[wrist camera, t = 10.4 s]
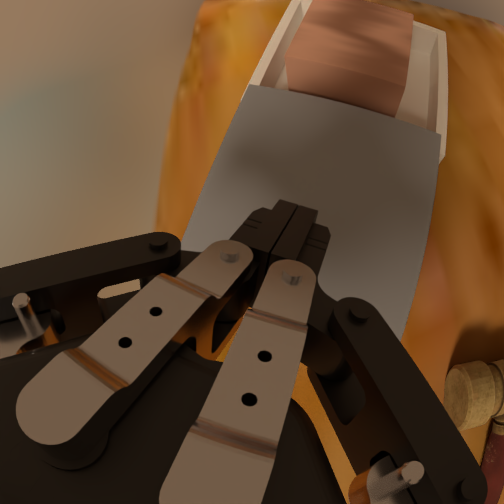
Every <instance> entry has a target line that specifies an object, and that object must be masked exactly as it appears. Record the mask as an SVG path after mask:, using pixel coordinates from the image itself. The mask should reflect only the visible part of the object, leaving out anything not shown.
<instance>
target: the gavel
mask: <svg viewBox="0 0 504 504" xmlns="http://www.w3.org/2000/svg"><path fill="white" fill-rule="evenodd" d="M444 408H445V410H446V411H447V413H448V415H449V416H450V418H451V419H452V421H453V423H454V424H455V426H456V427H457V429H458V431H462V430H466V429H470V428H474V427H477V426H481V425H484V424H485V423H486V422H487V421H488V420H489V418H493V417H494V421H493V427H492V431H491V434H490V436H489V439H488V442H487V444H486V449H485V453H484V458H483V462H482V466H481V470H482V472H483V473H484V475H485V477H486V480H487V485H488V492H487V498H486V501H485V503H484V504H497V503H498V501H499V498H500V495H501V492H502V489H503V486H504V359H502V360H498V361H494V362H490V363H487V364H485V363H484V362H483V361H479V360H478V361H473V362H468V363H463V364H458V365H454V366H453V367H452V368H451V369H450V371H449V373H448V375H447V378H446V381H445V389H444Z"/></svg>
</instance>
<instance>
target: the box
mask: <svg viewBox="0 0 504 504" xmlns="http://www.w3.org/2000/svg"><path fill="white" fill-rule="evenodd" d="M312 1H313V0H292V1H291V3H290V4H289V6H288V8H287V10H286V12H285V14H284V15H283V17H282V19H281V21H280V23H279V25H278V27H277V28H276V30H275V32H274V34H273V36H272V38H271V40H270V42H269V44H268V46H267V48H266V50H265V52H264V53H263V55H262V57H261V59H260V61H259V63H258V65H257V67H256V69H255V71H254V73H253V76H252V78H251V80H250V82H249V84H252V85H259V86H265V87H271V88H276V89H282V90H287V91H289V89H288V81H287V73H286V66H285V58H284V55H285V53H286V51H287V49H288V47H289V45H290V43H291V41H292V39H293V37H294V35H295V33H296V31H297V29H298V27H299V26H300V24H301V22H302V20H303V18H304V16H305V14H306V12H307V10H308V8H309V6H310V4H311V2H312ZM249 84H248V86H249ZM248 86H247V88H248ZM247 88H246V90H247ZM246 90H245V92H246ZM245 92H244V94H245ZM244 94H243V96H244ZM243 96H242V98H243ZM242 98H241V100H242ZM447 116H448V63H447V43H446V32H444V31H442V30H439V29H436V28H434V27H431V26H428V25H425V24H422V23H419V22H416V21H413V29H412V39H411V49H410V58H409V66H408V74H407V81H406V87H405V90H404V93H403V96H402V99H401V102H400V105H399V108H398V110H397V113H396V116H395V118H396V119H399V120H402V121H405V122H408V123H411V124H414V125H417V126H420V127H422V128H425V129H428V130H431V131H433V132H436V133H438V134H441V146H440V157H439V163H440V162H441V161H442V159H443V158H444V156H445V150H446V136H447Z"/></svg>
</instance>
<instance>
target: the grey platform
mask: <svg viewBox="0 0 504 504" xmlns="http://www.w3.org/2000/svg"><path fill="white" fill-rule="evenodd" d="M440 146H441V134H438V133H436V132H433V131H431V130H428V129H425V128H422V127H420V126H417V125H414V124H411V123H408V122H405V121H402V120H399V119H396V118H393V117H390V116H387V115H384V114H380V113H377V112H374V111H370V110H367V109H363V108H360V107H356V106H353V105H349V104H345V103H341V102H337V101H333V100H329V99H325V98H321V97H316V96H312V95H307V94H302V93H297V92H292V91H287V90H282V89H276V88H271V87H265V86H259V85H252V84H249V86H248V88H247V90H246V92H245V94H244V96H243V98H242V100H241V102H240V104H239V107H238V109H237V111H236V113H235V115H234V117H233V120H232V122H231V124H230V126H229V128H228V131H227V133H226V135H225V137H224V140H223V142H222V144H221V146H220V149H219V151H218V153H217V156H216V158H215V160H214V163H213V165H212V167H211V170H210V172H209V174H208V177H207V179H206V181H205V184H204V186H203V189H202V191H201V194H200V196H199V199H198V201H197V203H196V206H195V208H194V211H193V213H192V216H191V219H190V221H189V224H188V226H187V229H186V231H185V234H184V237H183V239H182V242H181V250H186V251H195V252H203V251H204V250H205V249H206V248H207V247H208V246H209V245H211V244H212V243H214V242H217V241H221V240H229V239H230V237H231V236H232V235H233V234H234V233H235V232H236V230H237V229H238V228H239V227H240V226H241V225H242V224H243V222H244V221H245V220H246V219H247V217H248V216H249V215H250V214H251V213H252V212H253V211H255V210H257V209H260V208H262V207H264V208H267V209H271V210H272V208H273V207H274V206H275V204H276V203H277V202H278V200H279V199H282V200H285V201H288V202H292V203H295V204H298V205H302V206H305V207H308V208H312V209H315V210H318V215H317V219H316V224H320V225H323V226H326V227H328V229H329V231H330V234H331V238H330V241H329V244H328V247H327V250H326V254H325V257H324V260H323V263H322V266H321V269H320V272H319V275H318V283H319V285H320V287H321V289H322V290H323V291H324V292H325V293H326V294H327V295H328V296H330V297H331V298H333V299H334V300H336V301H339V300H340V299H342V298H345V297H356V298H360V299H363V300H365V301H367V302H369V303H370V304H372V305H373V306H374V307H375V308H376V309H377V310H378V311H379V313H380V314H381V316H382V317H383V318H384V320H385V321H386V323H387V324H388V325H389V327H390V328H391V330H392V331H393V332H394V334H395V335H396V337H397V338H398V339H399V341H401V338H402V335H403V332H404V328H405V325H406V322H407V319H408V315H409V312H410V308H411V305H412V301H413V297H414V294H415V290H416V286H417V282H418V278H419V274H420V270H421V266H422V261H423V257H424V252H425V247H426V242H427V237H428V232H429V227H430V222H431V216H432V210H433V204H434V197H435V190H436V183H437V175H438V166H439V157H440Z"/></svg>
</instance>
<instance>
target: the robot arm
mask: <svg viewBox="0 0 504 504" xmlns="http://www.w3.org/2000/svg"><path fill="white" fill-rule="evenodd" d="M317 215H318V210H315V209H312V208H308V207H305V206H302V205H298V204H295V203H292V202H288V201H285V200H282V199H279V200H278V202H277V203H276V204H275V206H274V207H273V208H272V210H271V209H267V208H264V207H262V208H260V209H257V210H255V211H253V212H252V213H251V214H250V215H249V216H248V217H247V219H246V220H245V221H244V222H243V224H242V225H241V226H240V227H239V228H238V229H237V230H236V232H235V233H234V234H233V235H232V236H231V237H230V239H229V240H221V241H217V242H214V243H212V244H211V245H209V246H208V247H207V248H206V249H205V250H204V251H203V252H195V251H186V250H181V242H180V240H179V239H178V238H177V237H176V236H174V235H173V234H170V233H166V232H153V233H148V234H143V235H139V236H134V237H129V238H125V239H120V240H116V241H111V242H107V243H102V244H98V245H93V246H89V247H85V248H80V249H76V250H72V251H67V252H63V253H59V254H55V255H51V256H47V257H43V258H39V259H35V260H31V261H27V262H22V263H19V264H15V265H11V266H7V267H3V268H0V504H347V503H346V501H345V498H344V496H343V494H342V491H341V489H340V487H339V484H338V482H337V479H336V477H335V475H334V472H333V470H332V467H331V465H330V463H329V460H328V458H327V455H326V453H325V451H324V448H323V446H322V443H321V441H320V438H319V436H318V434H317V431H316V429H315V427H314V424H313V423H312V421H311V419H310V418H309V416H308V415H307V413H306V412H305V411H304V409H303V408H302V407H301V406H300V405H299V404H298V403H297V402H296V401H295V400H293V399H292V398H291V395H292V391H293V387H294V383H295V380H296V376H297V372H298V368H299V364H300V362H301V363H303V364H304V365H306V366H307V367H308V368H307V373H308V377H309V379H310V381H311V383H312V385H313V387H314V389H315V391H316V393H317V395H318V398H319V400H320V402H321V404H322V406H323V408H324V410H325V412H326V414H327V416H328V418H329V420H330V422H331V424H332V426H333V428H334V430H335V432H336V434H337V437H338V439H339V441H340V443H341V445H342V447H343V449H344V451H345V453H346V455H347V457H348V459H349V461H350V463H351V465H352V467H353V469H354V471H355V473H356V475H357V476H356V477H355V478H354V480H353V481H352V483H351V485H350V487H349V492H348V497H349V502H350V504H484V503H485V501H486V498H487V492H488V485H487V480H486V477H485V475H484V473H483V472H482V470H481V468H480V466H479V465H478V463H477V461H476V459H475V458H474V456H473V454H472V452H471V451H470V449H469V447H468V446H467V444H466V442H465V441H464V439H463V437H462V436H461V434H460V432H459V431H458V429H457V427H456V426H455V424H454V423H453V421H452V419H451V418H450V416H449V415H448V413H447V411H446V410H445V408H444V407H443V405H442V403H441V402H440V400H439V399H438V397H437V396H436V394H435V393H434V391H433V390H432V388H431V387H430V385H429V383H428V382H427V380H426V379H425V377H424V376H423V374H422V373H421V371H420V370H419V368H418V367H417V366H416V364H415V363H414V361H413V360H412V358H411V357H410V355H409V354H408V352H407V351H406V349H405V348H404V347H403V345H402V344H401V342H400V341H399V339H398V338H397V337H396V335H395V334H394V332H393V331H392V330H391V328H390V327H389V325H388V324H387V323H386V321H385V320H384V318H383V317H382V316H381V314H380V313H379V311H378V310H377V309H376V308H375V307H374V306H373V305H372V304H370V303H369V302H367V301H365V300H363V299H360V298H356V297H345V298H342V299H340V300H339V301H336V300H334V299H333V298H331V297H330V296H328V295H327V294H326V293H325V292H324V291H323V290H322V289H321V287H320V285H319V283H318V275H319V272H320V269H321V266H322V263H323V260H324V257H325V254H326V250H327V247H328V244H329V241H330V238H331V234H330V231H329V229H328V227H326V226H323V225H320V224H316V219H317ZM136 279H139V280H140V287H141V289H140V290H137V291H133V292H129V293H125V294H121V295H117V296H113V297H110V298H104V299H103V298H99V297H98V296H97V294H98V292H99V291H100V290H101V289H103V288H104V287H107V286H112V285H116V284H119V283H124V282H128V281H132V280H136ZM248 307H251V308H252V309H248ZM247 309H248V310H247ZM245 312H246V313H245ZM244 314H245V315H244ZM243 315H244V318H243ZM239 326H240V327H239ZM238 328H239V329H238ZM237 329H238V331H237ZM236 331H237V333H236V336H235V338H234V340H233V342H232V345H231V347H230V349H229V351H228V353H227V356H226V358H225V360H224V362H219V361H215V360H216V359H217V357H218V356H219V355H220V353H221V352H222V350H223V349H224V348H225V346H226V345H227V343H228V342H229V340H230V339H231V338H232V336H233V335H234V333H235V332H236Z"/></svg>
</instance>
